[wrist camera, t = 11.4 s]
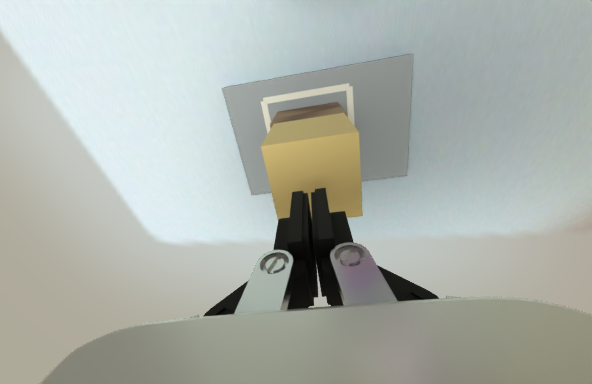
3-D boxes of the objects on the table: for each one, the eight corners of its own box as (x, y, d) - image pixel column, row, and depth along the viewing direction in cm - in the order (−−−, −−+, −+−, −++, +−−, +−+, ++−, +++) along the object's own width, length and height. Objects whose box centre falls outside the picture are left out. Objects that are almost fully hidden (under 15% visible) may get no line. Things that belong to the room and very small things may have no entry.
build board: (409, 54, 23) (413, 53, 22) (404, 172, 28) (407, 175, 27) (224, 87, 24) (221, 88, 24) (253, 191, 30) (251, 195, 29)
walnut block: (337, 101, 24) (346, 112, 18) (342, 159, 26) (350, 182, 21) (277, 111, 24) (269, 124, 19) (288, 166, 27) (283, 191, 22)
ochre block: (343, 112, 18) (358, 131, 13) (348, 177, 21) (362, 215, 16) (273, 123, 19) (260, 146, 14) (286, 185, 22) (279, 225, 16)
